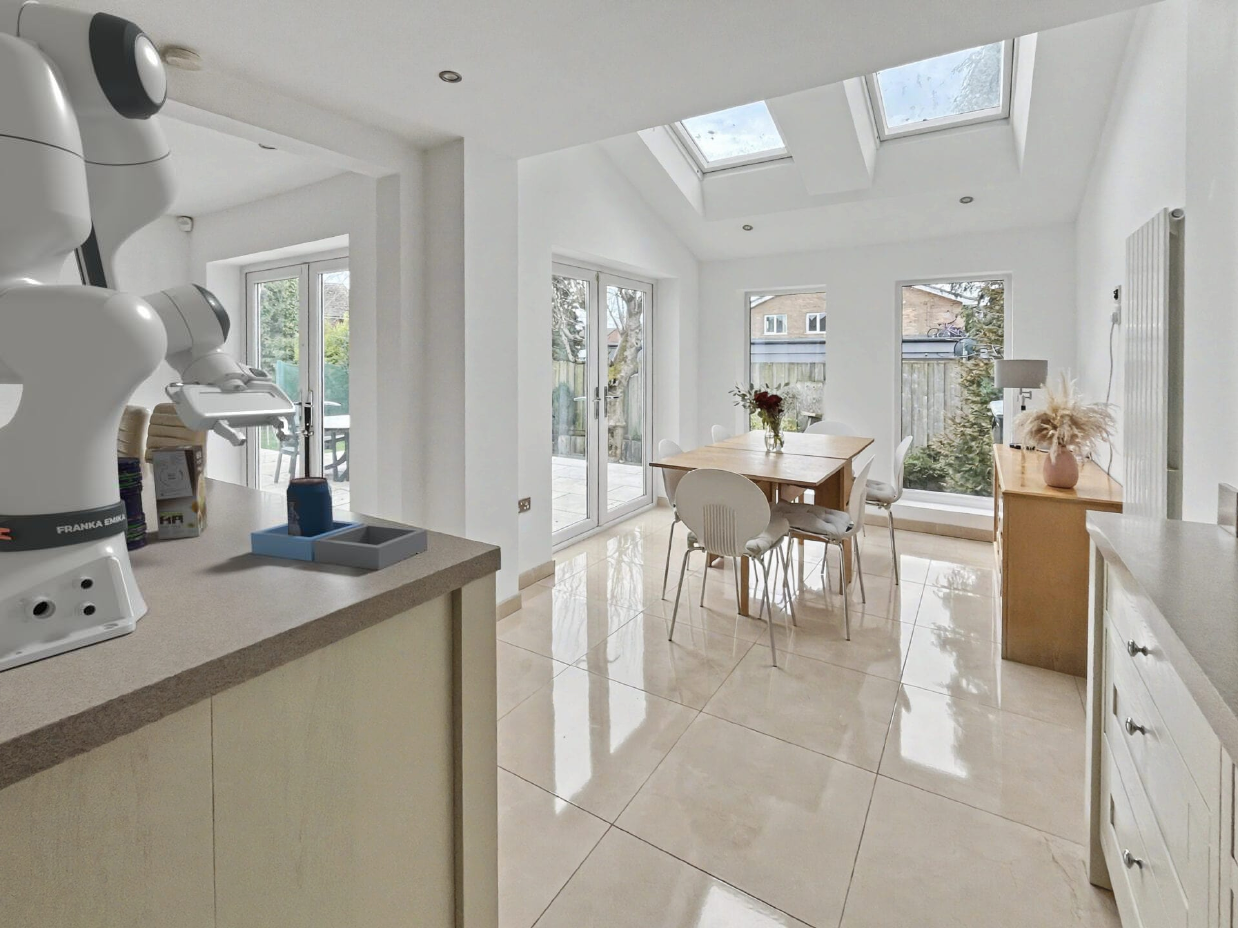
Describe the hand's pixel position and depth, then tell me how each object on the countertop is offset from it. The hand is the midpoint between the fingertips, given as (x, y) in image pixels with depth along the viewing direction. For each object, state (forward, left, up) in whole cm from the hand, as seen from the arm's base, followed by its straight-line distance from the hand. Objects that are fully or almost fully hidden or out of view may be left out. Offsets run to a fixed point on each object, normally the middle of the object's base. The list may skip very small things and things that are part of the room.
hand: (265, 441), depth 108 cm
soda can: (0, -9, -18) cm, 20 cm away
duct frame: (0, -16, -18) cm, 24 cm away
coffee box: (0, +21, -18) cm, 28 cm away
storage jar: (-12, +22, -18) cm, 31 cm away
